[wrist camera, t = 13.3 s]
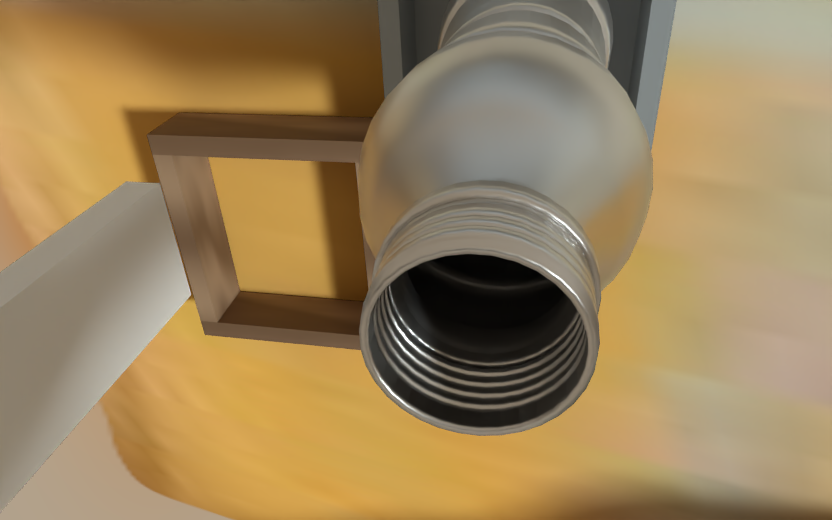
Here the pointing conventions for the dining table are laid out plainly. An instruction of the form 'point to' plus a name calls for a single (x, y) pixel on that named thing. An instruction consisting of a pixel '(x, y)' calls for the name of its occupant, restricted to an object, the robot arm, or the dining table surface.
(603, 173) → the silver metal bottle
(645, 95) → the grey tray
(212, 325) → the walnut collar
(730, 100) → the dining table surface
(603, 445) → the dining table surface
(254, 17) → the dining table surface
